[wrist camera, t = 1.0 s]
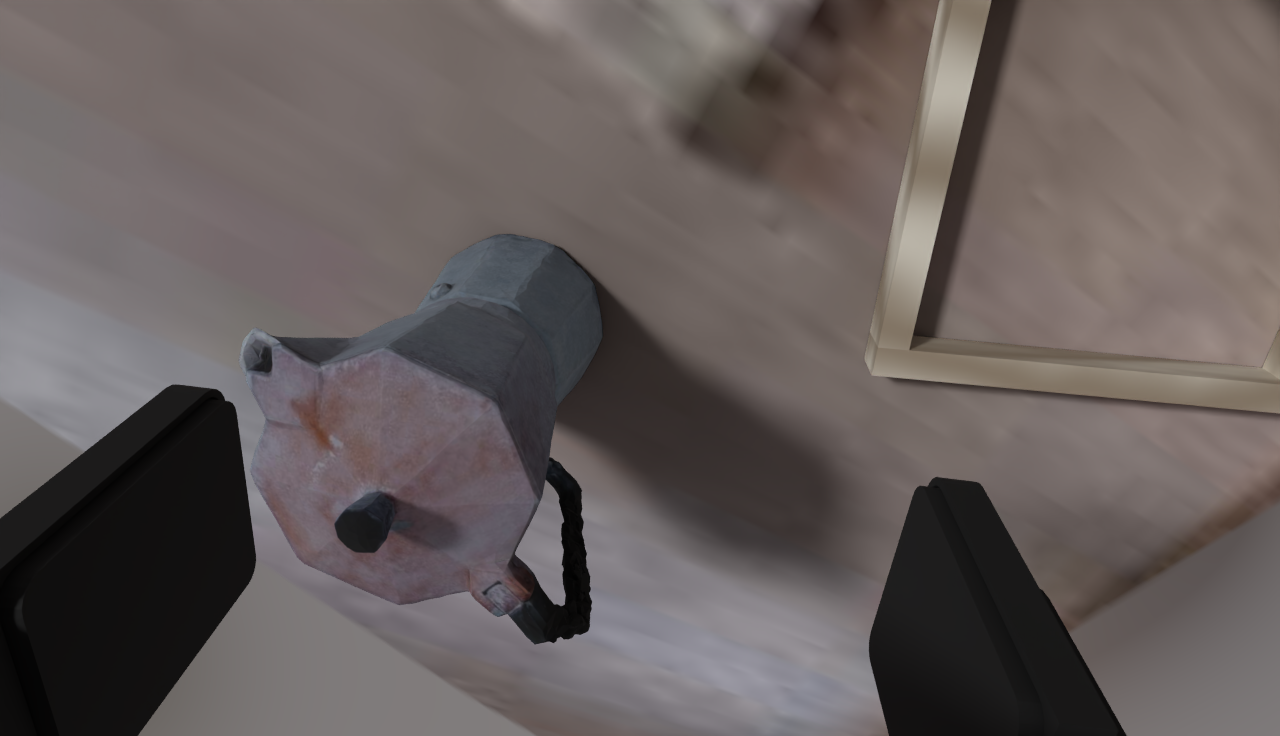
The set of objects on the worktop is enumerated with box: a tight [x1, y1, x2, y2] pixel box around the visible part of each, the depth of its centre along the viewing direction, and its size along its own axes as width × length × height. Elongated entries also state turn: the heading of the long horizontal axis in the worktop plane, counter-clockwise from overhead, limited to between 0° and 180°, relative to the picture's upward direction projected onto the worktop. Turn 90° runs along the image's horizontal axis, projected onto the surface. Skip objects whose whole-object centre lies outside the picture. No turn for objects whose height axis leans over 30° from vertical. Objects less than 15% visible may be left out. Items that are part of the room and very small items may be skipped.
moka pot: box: [239, 234, 603, 644], centre depth 33 cm, size 10×15×20 cm, turn 46°
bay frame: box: [864, 0, 1280, 413], centre depth 36 cm, size 20×21×2 cm
